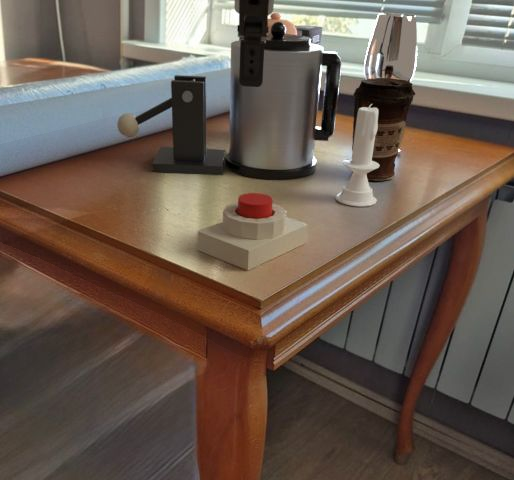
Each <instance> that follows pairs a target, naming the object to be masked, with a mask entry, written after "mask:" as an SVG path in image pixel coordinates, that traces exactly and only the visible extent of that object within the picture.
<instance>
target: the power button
mask: <svg viewBox="0 0 514 480" xmlns="http://www.w3.org/2000/svg"><path fill="white" fill-rule="evenodd" d="M273 201H274V200H273V197H272V196H270V195H268V194H265V193H258V192H247V193H243V194H240V195H239V196H238V197H237V202H238V215H239V216H242V217H245V218H251V219H262V218H268V217H271V216H272V204H274V203H273Z"/></svg>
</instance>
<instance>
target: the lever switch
mask: <svg viewBox="0 0 514 480" xmlns="http://www.w3.org/2000/svg"><path fill="white" fill-rule="evenodd" d="M191 81H195V79H193V80H191ZM169 109H172V97H170V98H168V99H166V100H163V101H162V102H160V103H158V104H157V105H155V106H153V107H151V108H150V109H148V110H145V111H144V112H142V113H139V115H137V116H136V115H134V114H132V113H124V114H122V115H120V116H119V117H118V120H117V124H116V125H117V126H116V127H117V129H118V132H119V133H120V134H121V135H122V136H124V137H126V138H133V137H135V136H137V135H138V133H139V132H140V130H141V124H143V123H145V122H147V121H149V120H151V119H153V118H154V117H156V116H158V115H160V114H162V113H164V112H165V111H168V110H169Z"/></svg>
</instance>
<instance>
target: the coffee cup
mask: <svg viewBox="0 0 514 480" xmlns="http://www.w3.org/2000/svg"><path fill="white" fill-rule="evenodd" d="M352 96H353V97H354V101H353V103H354V104H353V107H354V109H353V122H352V144H351V151H352V152H353V144H354V136H355V129H356V121H357V114H358V110H359V108H362V107H369V106H370V105H371V104H372V105H371V107H370V108H377V109H378V111H379V113H378V130H377V133H376V135H375V141H374V148H373V155H372V161H375V162H377V163H378V164H379V165H380V166H379V168H377V169H375V170H373V171H371V172H369V173H367V179H368V181H387V180H388V181H389V180H392V179H393V178H395V176H396V174H395V168H396V158H397V157H398V155H399V154H398V151H399V150H400V147H401V145H402V143H403V138H404V135H405V132H406V126H407V124H406V121H407V118H408V113H409V109H410V107H411V105H412V102H413V101H414V97H415V96H416V92H415V91H414V89H413V83H412V82H411V81H410V82H409V81H406V80H401V79H393V78H375V79H363V80H360V84H359V85H358V87H356V89H355V91H354V92H353V93H352ZM352 152H351V153H352ZM350 171H351V170H350ZM352 174H353V172H352V171H351V175H352Z"/></svg>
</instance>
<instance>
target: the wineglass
mask: <svg viewBox="0 0 514 480" xmlns="http://www.w3.org/2000/svg"><path fill="white" fill-rule="evenodd" d="M417 27H418V26H417V16H416V15H415V14H410V13H398V12H380V13H378V15H377V18H376V21H375V24H374V27H373V29H372V33H371V36H370V39H369V42H368V47H367V50H366V55H365V59H364V64H363V65H364V67H363V68H364V70H363V73H364V78H365V79H364V80H366V79H375V78H393V79H401V80H406V81H409V82H410V83H411V81H412V79H413V77H414V75H415V71H416V67H417V58H418V57H417V56H418V52H417V51H418V29H417ZM400 154H401V150H400V149H399V151H398V155H400Z"/></svg>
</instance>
